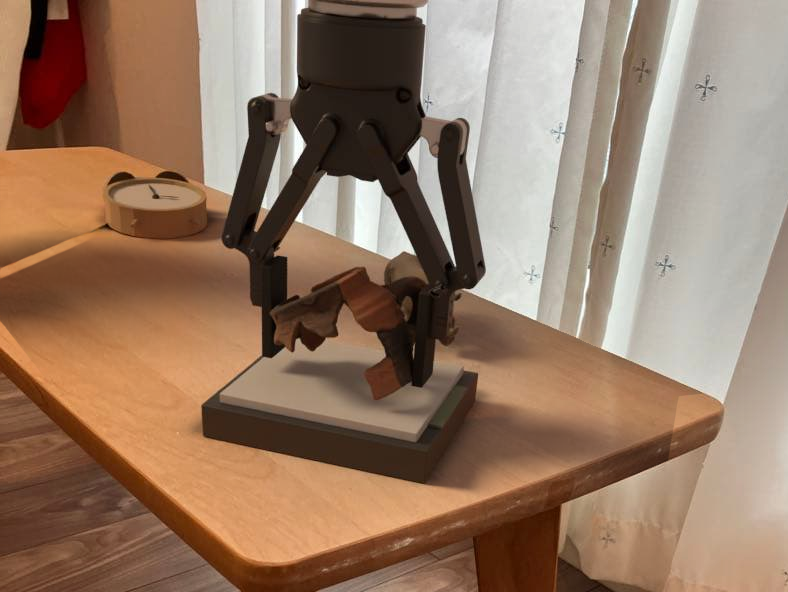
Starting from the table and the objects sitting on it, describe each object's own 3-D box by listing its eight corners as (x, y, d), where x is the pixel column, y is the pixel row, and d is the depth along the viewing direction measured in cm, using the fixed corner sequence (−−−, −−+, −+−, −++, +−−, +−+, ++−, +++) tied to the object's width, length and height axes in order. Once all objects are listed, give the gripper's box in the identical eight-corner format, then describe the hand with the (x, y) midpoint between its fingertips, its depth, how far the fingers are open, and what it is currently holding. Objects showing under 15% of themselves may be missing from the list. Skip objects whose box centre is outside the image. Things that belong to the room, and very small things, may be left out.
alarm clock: (112, 213, 99) (89, 156, 109) (115, 257, 103) (93, 198, 112) (218, 210, 103) (187, 155, 113) (217, 252, 107) (187, 195, 116)
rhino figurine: (428, 365, 79) (434, 294, 75) (372, 308, 89) (376, 244, 86) (473, 361, 80) (481, 291, 77) (413, 306, 91) (418, 242, 87)
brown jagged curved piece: (351, 424, 61) (294, 304, 58) (288, 428, 69) (235, 323, 66) (483, 343, 66) (436, 229, 63) (410, 356, 74) (366, 255, 71)
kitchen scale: (202, 436, 65) (200, 395, 63) (283, 364, 76) (283, 328, 75) (424, 483, 62) (428, 441, 60) (475, 401, 73) (479, 364, 71)
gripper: (152, -9, 54) (175, 354, 66) (545, 34, 49) (492, 417, 61) (212, -13, 60) (223, 320, 72) (567, 25, 55) (515, 375, 68)
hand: (347, 365), depth 67 cm, fingers closed on brown jagged curved piece, 10 cm apart
